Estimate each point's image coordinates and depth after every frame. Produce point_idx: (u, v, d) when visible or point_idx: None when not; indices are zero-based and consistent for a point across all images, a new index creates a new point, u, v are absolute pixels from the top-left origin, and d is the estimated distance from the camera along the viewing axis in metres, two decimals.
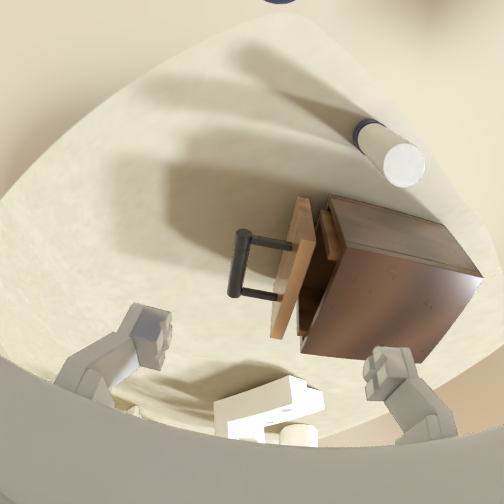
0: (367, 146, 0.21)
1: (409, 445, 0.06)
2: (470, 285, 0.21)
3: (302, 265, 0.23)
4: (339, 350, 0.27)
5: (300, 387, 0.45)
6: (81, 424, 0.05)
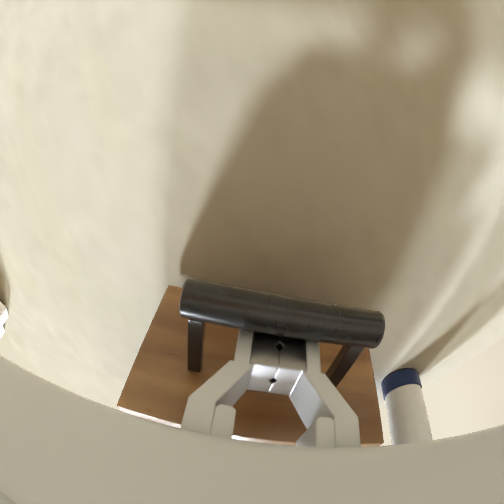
0: (419, 419, 0.16)
1: (409, 445, 0.06)
2: None
3: None
4: None
5: None
6: (81, 424, 0.05)
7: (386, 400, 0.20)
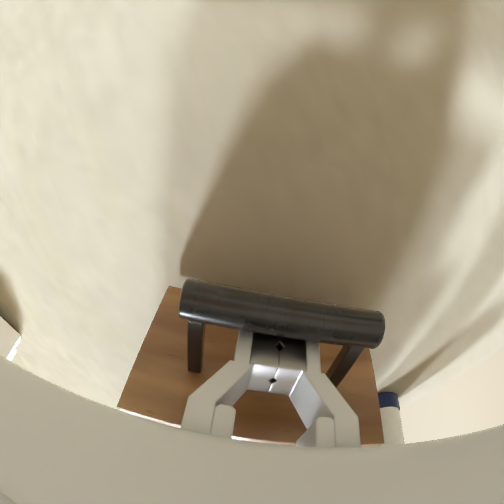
0: (394, 439, 0.19)
1: (409, 445, 0.06)
2: None
3: None
4: None
5: (13, 349, 0.23)
6: (81, 424, 0.05)
7: None
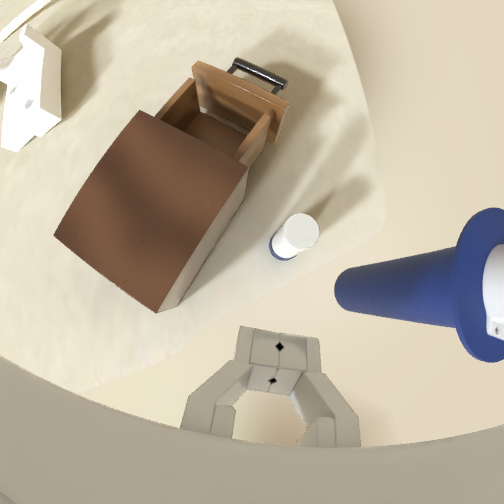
0: None
1: (409, 445, 0.06)
2: (152, 294, 0.23)
3: (266, 96, 0.27)
4: (125, 142, 0.25)
5: (41, 126, 0.32)
6: (81, 424, 0.05)
7: (272, 239, 0.32)
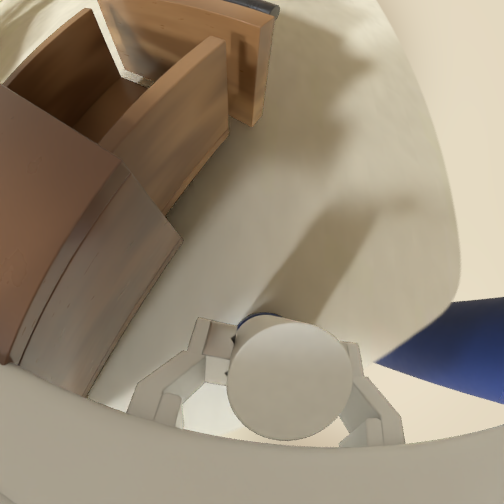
0: None
1: (409, 445, 0.06)
2: None
3: (219, 8, 0.10)
4: None
5: None
6: (81, 424, 0.05)
7: None
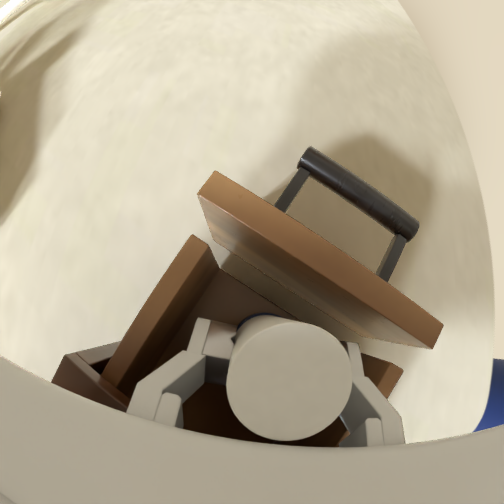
0: None
1: (409, 445, 0.06)
2: None
3: (400, 314, 0.10)
4: None
5: None
6: (81, 424, 0.05)
7: None
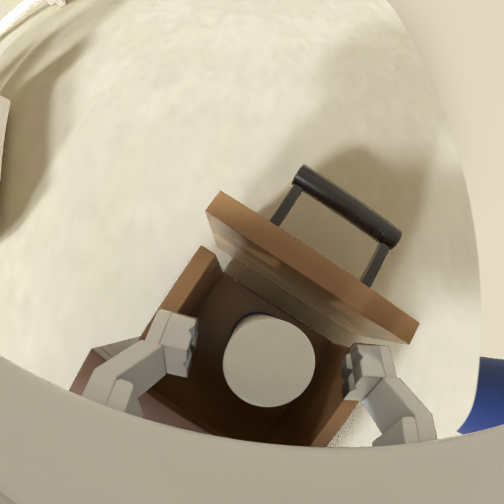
0: None
1: (409, 445, 0.06)
2: None
3: (378, 313, 0.12)
4: None
5: None
6: (81, 424, 0.05)
7: None
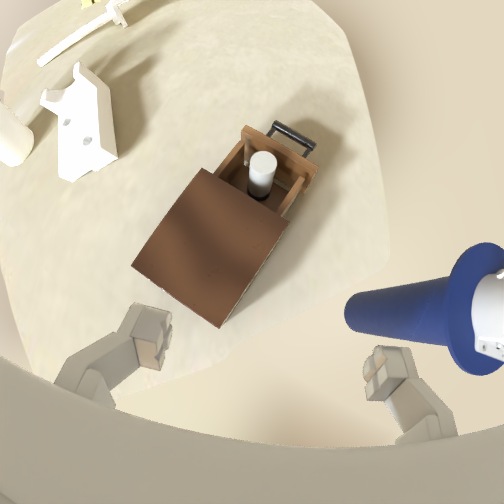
0: None
1: (409, 445, 0.06)
2: (216, 314, 0.32)
3: (301, 161, 0.37)
4: (191, 195, 0.35)
5: (99, 162, 0.43)
6: (81, 424, 0.05)
7: None
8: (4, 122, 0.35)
